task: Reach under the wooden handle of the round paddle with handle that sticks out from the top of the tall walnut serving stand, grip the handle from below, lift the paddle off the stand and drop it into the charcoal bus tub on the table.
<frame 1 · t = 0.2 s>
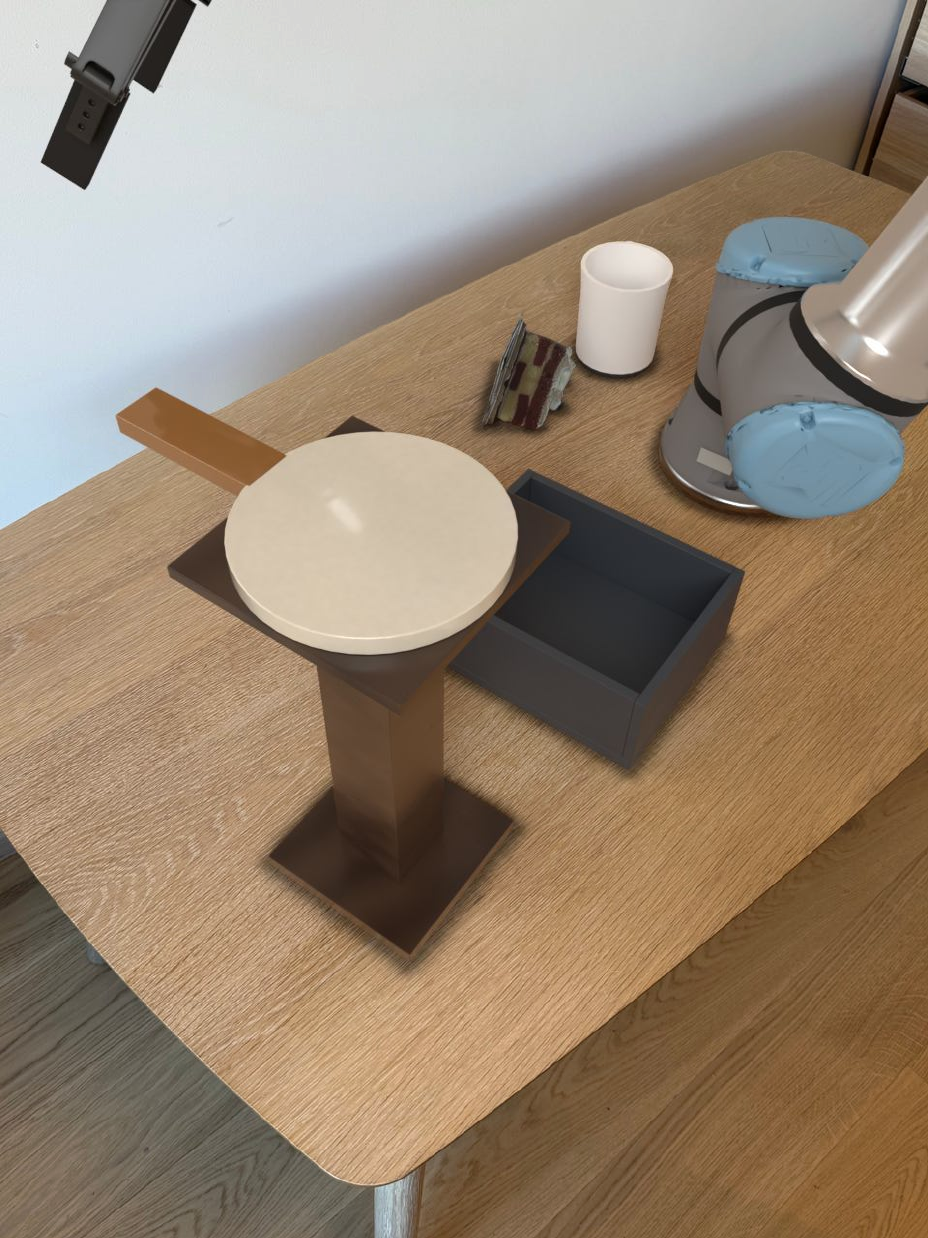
hand: (102, 123, 68), 36 cm above the table, tool tilted 35°, fingers open, 13 cm apart
stand: (393, 846, 76), on the table
tub: (571, 643, 88), on the table
chocolate cake: (529, 402, 109), on the table
round paddle with handle: (373, 543, 53), point 30 cm above the table, touching stand
mug: (614, 350, 114), on the table
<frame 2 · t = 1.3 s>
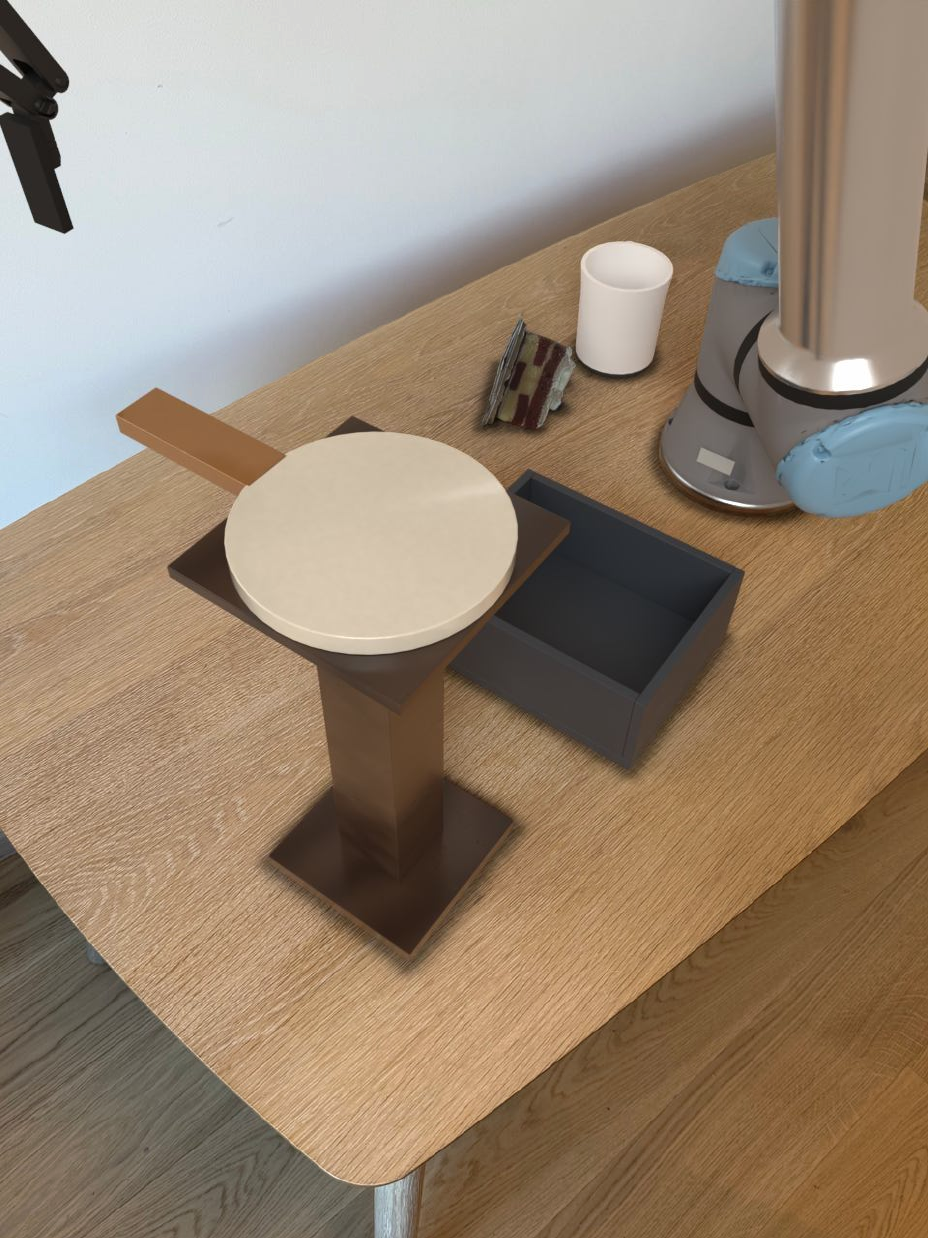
nothing on the table moved.
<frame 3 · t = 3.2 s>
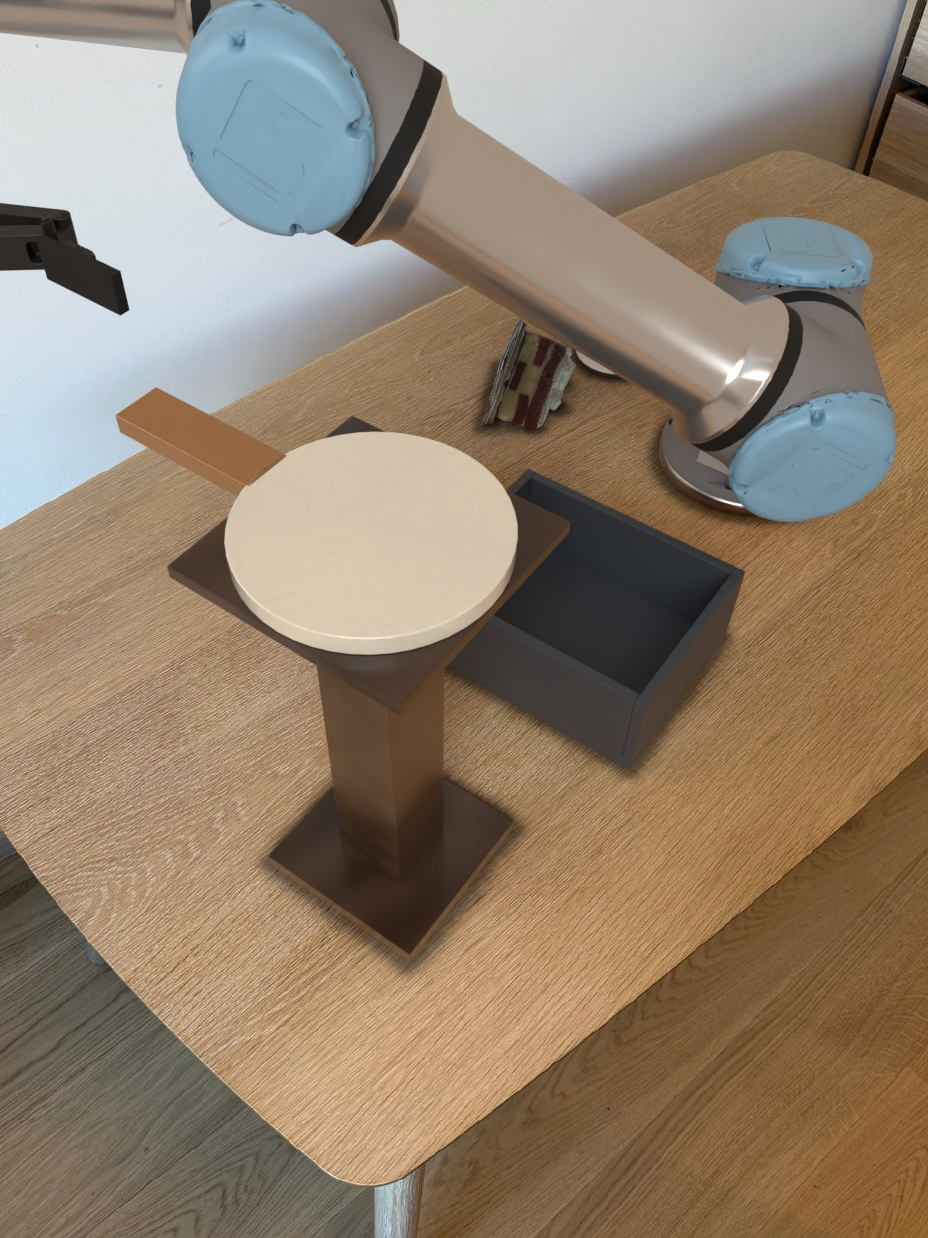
hand: (32, 348, 62), 30 cm above the table, tool horizontal, fingers open, 13 cm apart
nothing on the table moved.
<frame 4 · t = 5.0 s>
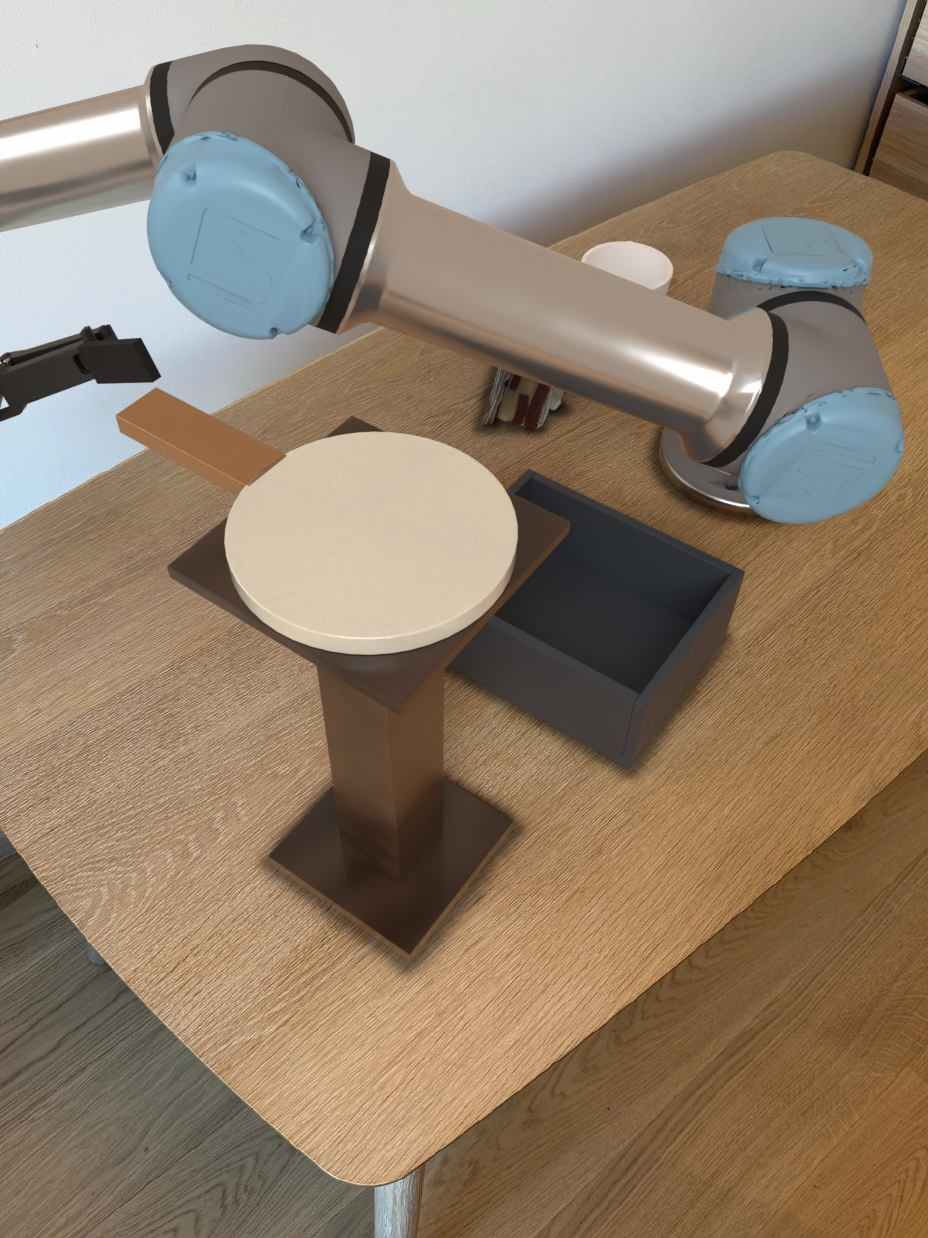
hand: (63, 415, 65), 26 cm above the table, tool pointing upward, fingers open, 13 cm apart
nothing on the table moved.
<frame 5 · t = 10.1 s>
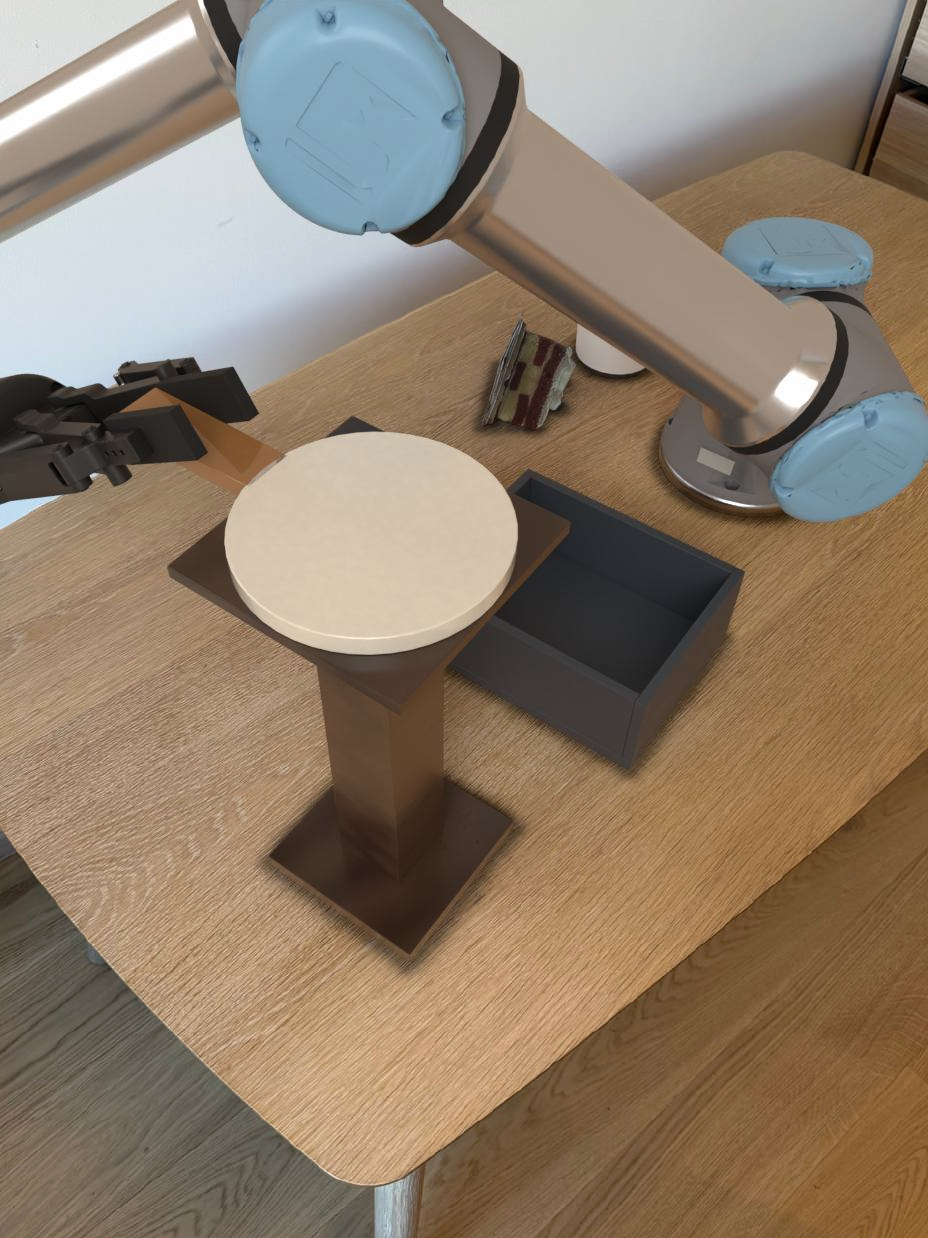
hand: (215, 412, 54), 33 cm above the table, tool pointing upward, fingers closed on round paddle with handle, 3 cm apart
round paddle with handle: (373, 543, 53), point 30 cm above the table, touching gripper, stand
everything else where it was.
when the fingers open (23 cm above the table, at t = 20.8 s): round paddle with handle drops 13 cm, resting on tub.
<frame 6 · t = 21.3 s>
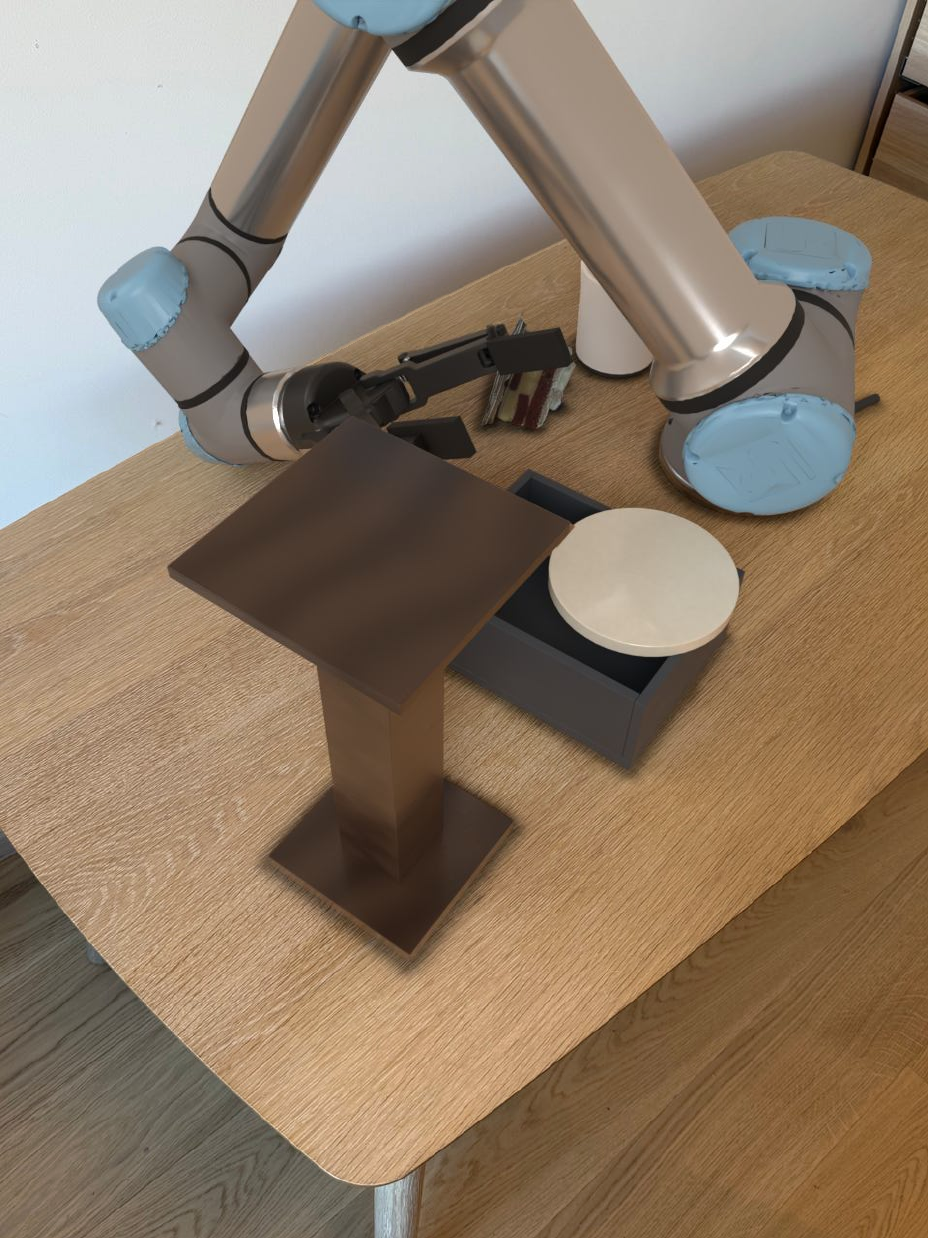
hand: (517, 390, 74), 22 cm above the table, tool pointing upward, fingers open, 11 cm apart
round paddle with handle: (641, 583, 82), point 8 cm above the table, touching tub
everything else where it was.
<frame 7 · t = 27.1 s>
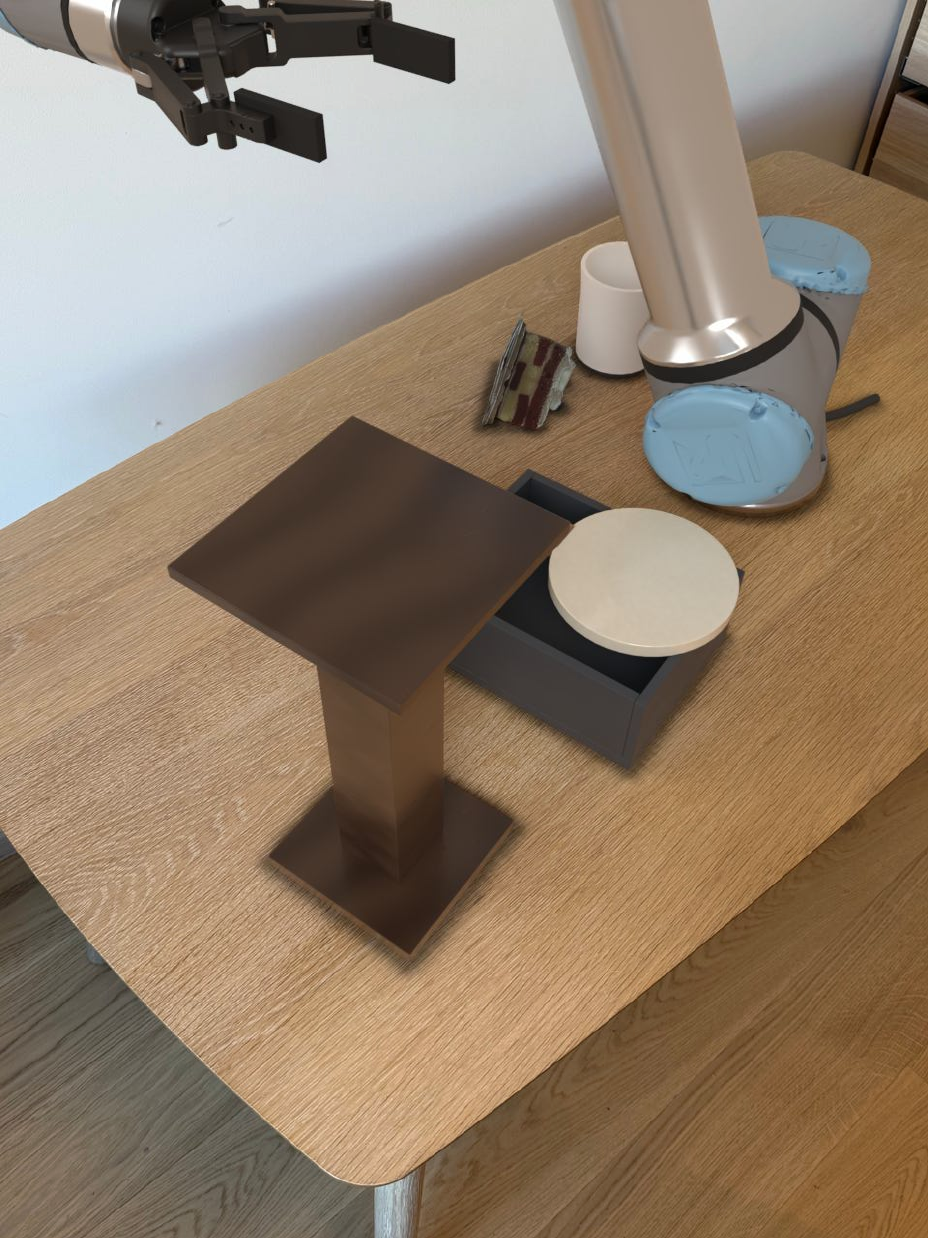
hand: (390, 98, 70), 37 cm above the table, tool horizontal, fingers open, 13 cm apart
nothing on the table moved.
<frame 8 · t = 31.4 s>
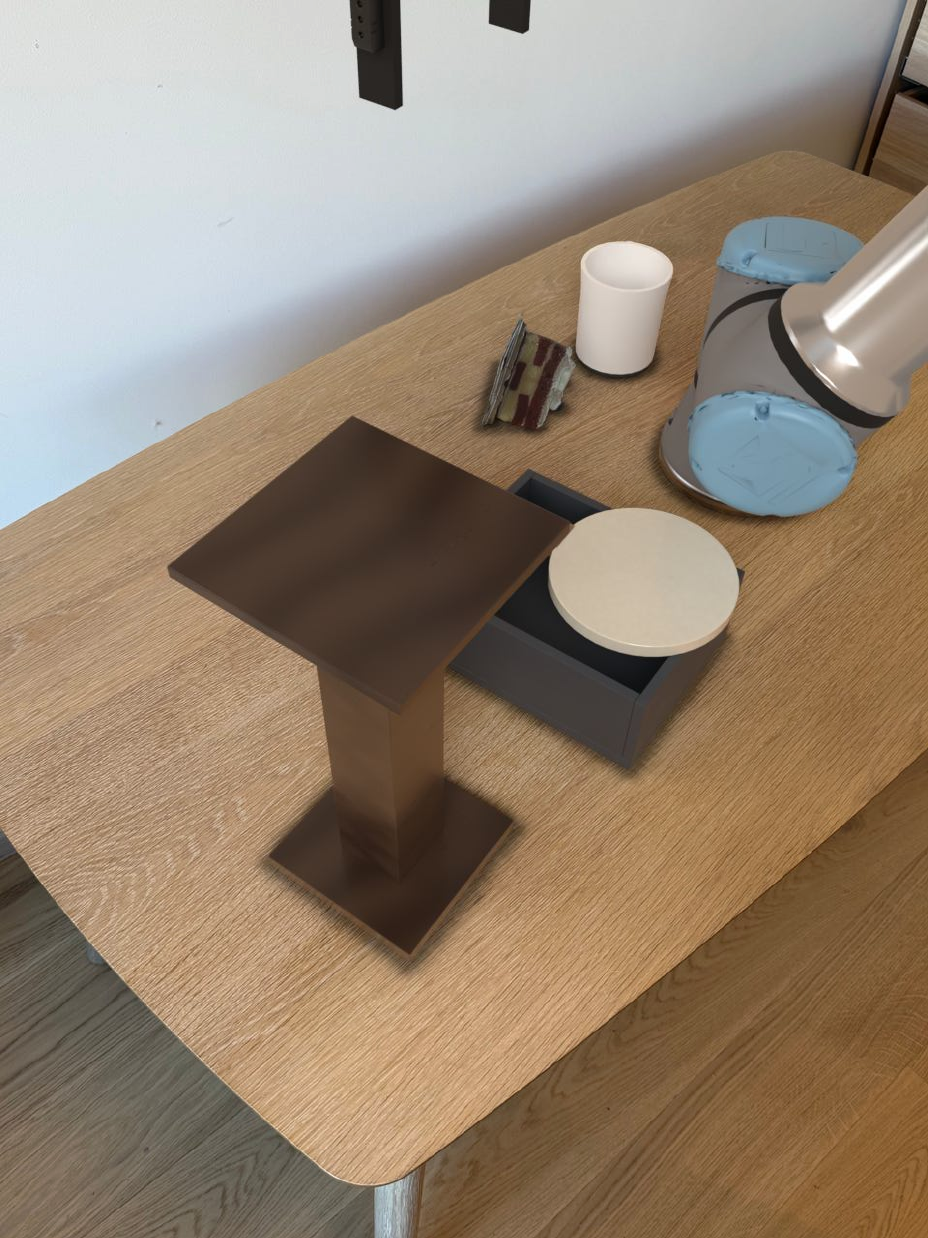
hand: (448, 62, 69), 39 cm above the table, tool pointing down, fingers open, 13 cm apart
nothing on the table moved.
at the end: round paddle with handle inside the target area in the tub (4.5 cm from its centre), point 8.0 cm above the tub's base; round paddle with handle touching tub; the gripper is holding nothing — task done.
